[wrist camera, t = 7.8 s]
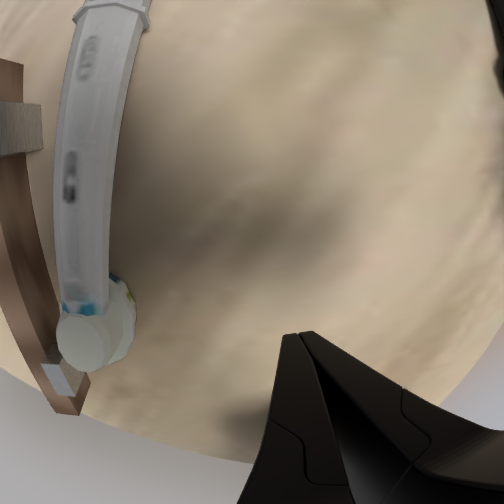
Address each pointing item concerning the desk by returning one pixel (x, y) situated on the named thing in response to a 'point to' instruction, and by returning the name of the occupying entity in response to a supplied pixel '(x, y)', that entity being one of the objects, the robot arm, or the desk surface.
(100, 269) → the grey elongated rounded piece
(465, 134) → the desk surface
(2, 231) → the rail
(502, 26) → the microphone
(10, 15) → the desk surface
